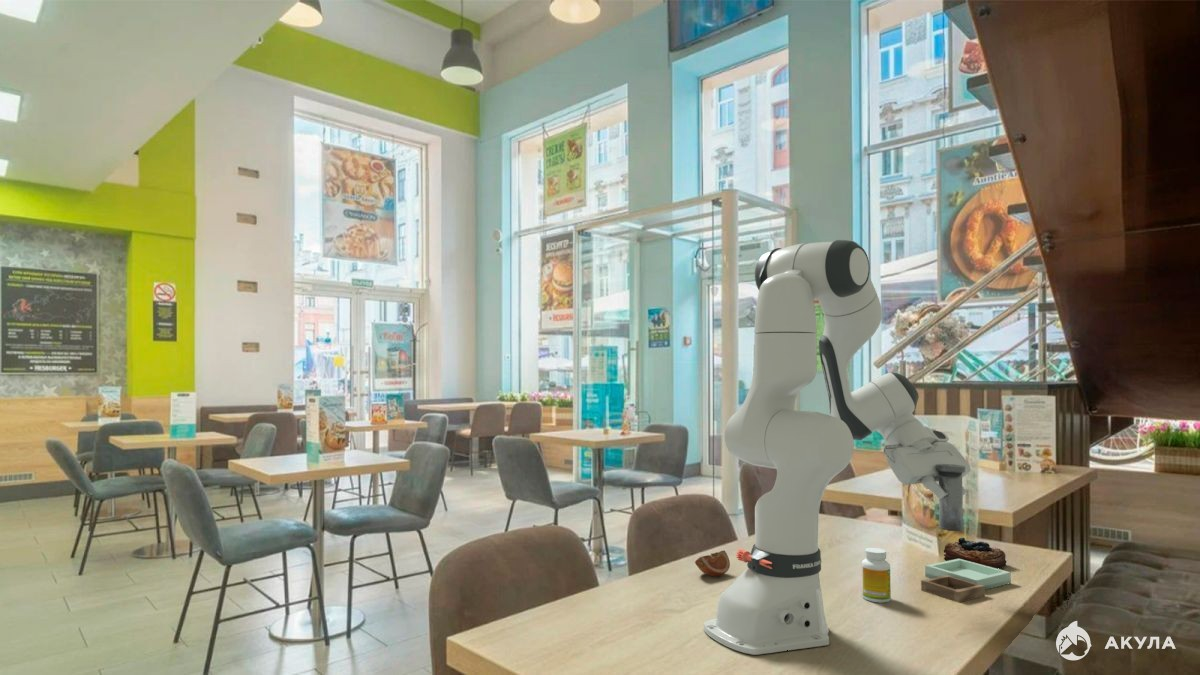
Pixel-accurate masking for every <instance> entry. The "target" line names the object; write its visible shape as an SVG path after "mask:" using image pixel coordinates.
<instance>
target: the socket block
mask: <svg viewBox="0 0 1200 675" xmlns="http://www.w3.org/2000/svg"><path fill="white" fill-rule="evenodd" d="M920 586H921V588H920V590H921V591H923V592H926V593H929V594H933V595H934V596H938V597H941V598H945V599H947V600H951V601H953V602H957V603H962V602H966V601H969V600H970V601H971V600H973V599H977V598H981V597H984V596H985V590H984V586H983V585H980V584H976V583H973V582H969V581H966V580H963V579H959V578H956V577H952V576H949V575H944V576H939V577H935V578H926V579H922V580H921V581H920Z"/></svg>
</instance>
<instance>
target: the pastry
mask: <svg viewBox="0 0 1200 675" xmlns="http://www.w3.org/2000/svg"><path fill="white" fill-rule="evenodd" d="M943 553H944V554H943V556H944V557H943V559H944V561H945V560H947V561H950V560H954V559H962V560H966V561H970V562H974V563H977V564H981V565H985V566H989V567H992V568H996V569H998V568H1001V569H1003V568H1004V567H1006V566H1007V563H1008V562H1007V560H1006V552H1004V550H1002V549H1001V548H999V547H990V544H989V543H988V542H987V541H986V542H984V541H977V542H976V541H974V540H966V538H965V537H959V538H958V540H957V541H954V542H948V543H946V545H945V546H944V550H943ZM1005 565H1006V566H1005ZM1002 567H1003V568H1002Z"/></svg>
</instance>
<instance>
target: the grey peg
mask: <svg viewBox="0 0 1200 675" xmlns="http://www.w3.org/2000/svg"><path fill="white" fill-rule="evenodd" d="M935 469H936V470H937V471H939V481H938V485H940V486H941V487H944V488H945V489H946V491H948V493H949V495H948V496H947V497H946V498H942V499H939V498H938V509H939V510H938V511H939V512H938V514H939V515H938V516H939V518H938V521H939V523H938V524H939V525H938V526H939V529H940V530H944V531H950V532H962V531H964V510H963V509H964V506H963V505H964V504H963V502H964V500H963V497H964V495H963V490H962V486H963V478H962V473H964V472H965V466H961V465H953V464H936V465H935Z"/></svg>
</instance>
